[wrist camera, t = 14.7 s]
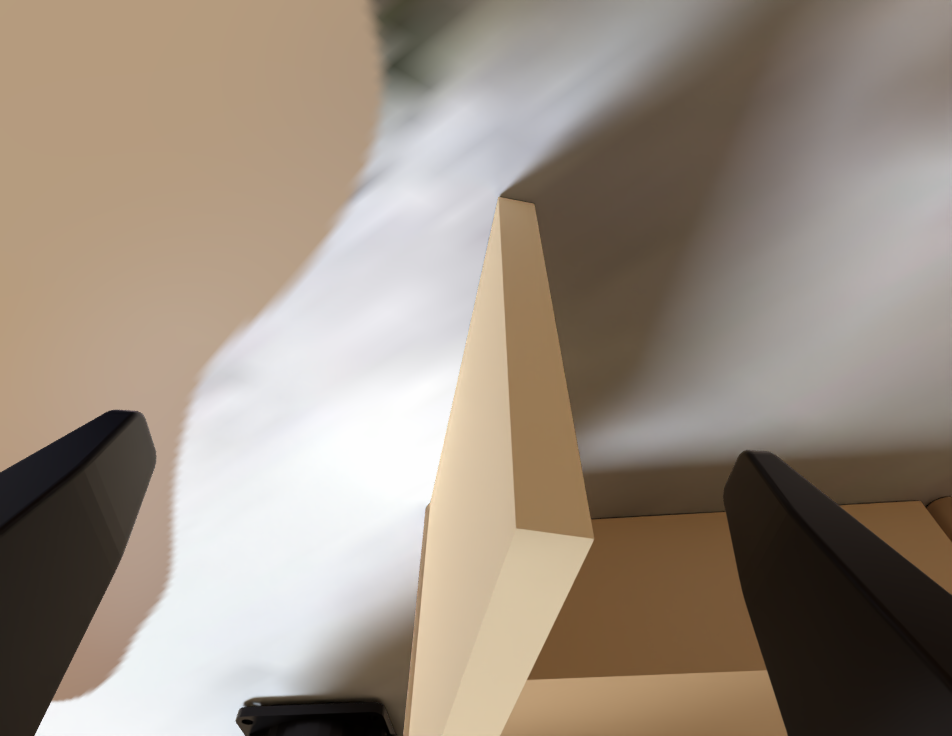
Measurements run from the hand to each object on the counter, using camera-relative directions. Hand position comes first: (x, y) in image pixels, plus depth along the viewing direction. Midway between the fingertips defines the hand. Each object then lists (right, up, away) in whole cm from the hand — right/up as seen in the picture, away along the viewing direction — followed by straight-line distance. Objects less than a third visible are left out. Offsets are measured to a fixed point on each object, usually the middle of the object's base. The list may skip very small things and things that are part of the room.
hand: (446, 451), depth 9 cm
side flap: (0, +1, +7) cm, 7 cm away
